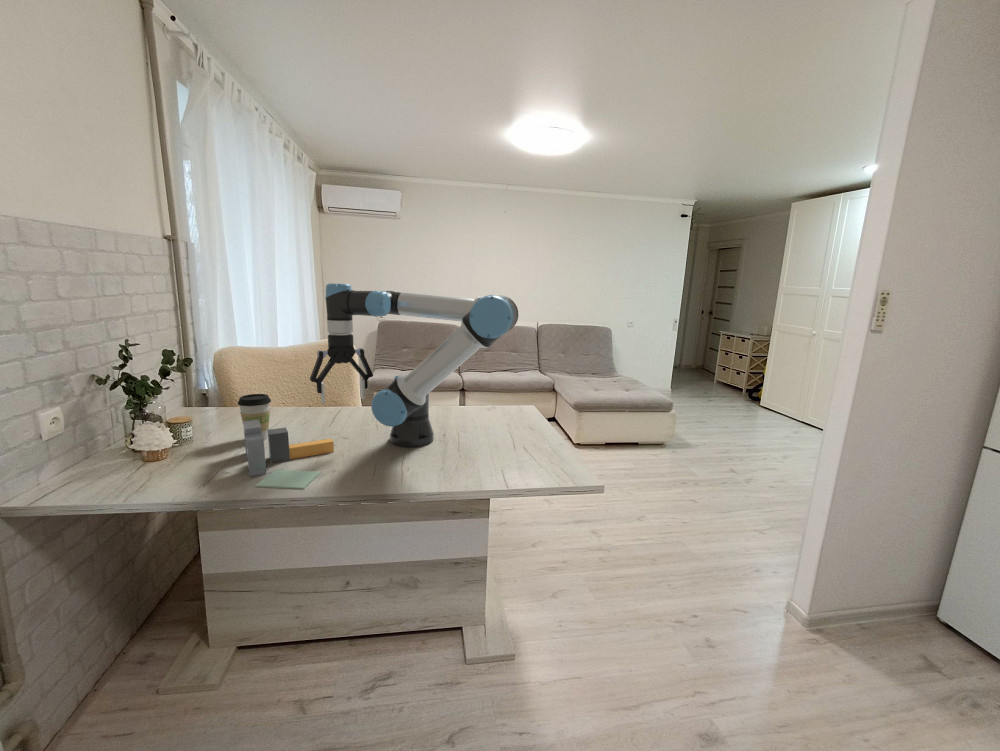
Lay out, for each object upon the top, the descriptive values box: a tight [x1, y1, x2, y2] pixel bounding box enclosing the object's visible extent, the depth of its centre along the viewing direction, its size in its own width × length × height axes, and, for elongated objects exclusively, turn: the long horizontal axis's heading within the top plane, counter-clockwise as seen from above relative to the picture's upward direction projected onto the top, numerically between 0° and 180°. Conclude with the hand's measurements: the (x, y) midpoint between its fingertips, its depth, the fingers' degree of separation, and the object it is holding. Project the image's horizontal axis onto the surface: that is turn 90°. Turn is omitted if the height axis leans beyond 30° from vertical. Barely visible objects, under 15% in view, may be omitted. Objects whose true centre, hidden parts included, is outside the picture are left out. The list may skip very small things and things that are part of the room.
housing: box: [242, 419, 267, 478], centre depth 127 cm, size 4×20×12 cm, turn 33°
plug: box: [267, 427, 335, 464], centre depth 134 cm, size 18×5×9 cm, turn 123°
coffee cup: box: [237, 393, 272, 441], centre depth 146 cm, size 10×10×15 cm
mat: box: [254, 469, 321, 490], centre depth 118 cm, size 13×10×1 cm
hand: (343, 400), depth 139 cm, fingers open, 12 cm apart
